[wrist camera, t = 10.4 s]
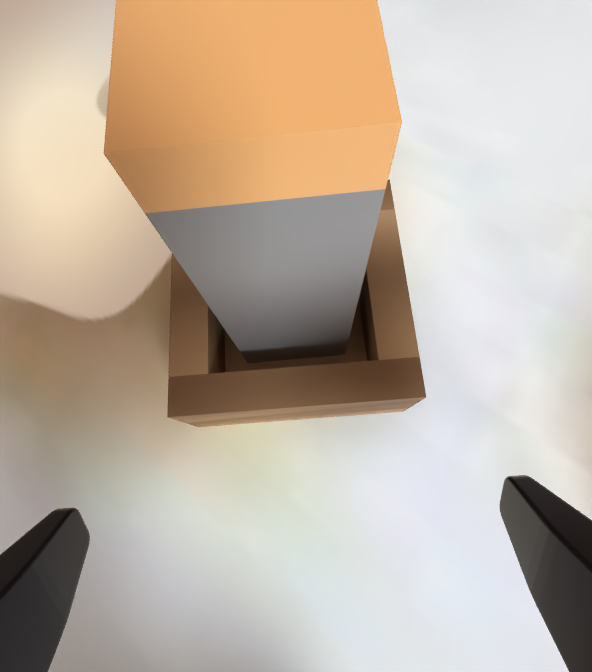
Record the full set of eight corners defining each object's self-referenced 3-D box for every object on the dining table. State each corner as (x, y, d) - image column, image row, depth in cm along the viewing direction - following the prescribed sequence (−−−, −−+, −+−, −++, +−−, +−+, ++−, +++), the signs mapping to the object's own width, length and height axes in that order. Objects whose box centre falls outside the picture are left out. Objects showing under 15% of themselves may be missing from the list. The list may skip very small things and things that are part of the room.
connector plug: (345, 354, 18) (401, 121, 6) (248, 363, 18) (104, 153, 6) (334, 267, 20) (362, -72, 7) (244, 275, 20) (119, -44, 7)
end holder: (403, 411, 18) (426, 397, 15) (198, 426, 19) (167, 417, 15) (376, 230, 21) (389, 179, 17) (199, 246, 21) (173, 199, 18)
